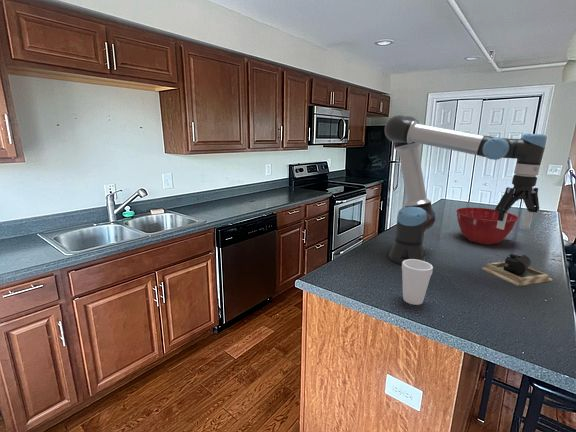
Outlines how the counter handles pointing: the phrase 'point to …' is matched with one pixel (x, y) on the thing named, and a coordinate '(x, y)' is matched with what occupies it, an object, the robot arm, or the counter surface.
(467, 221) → the mixing bowl
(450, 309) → the counter surface
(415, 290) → the foam cup
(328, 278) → the counter surface
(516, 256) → the end cap
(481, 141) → the robot arm
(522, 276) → the picture frame
